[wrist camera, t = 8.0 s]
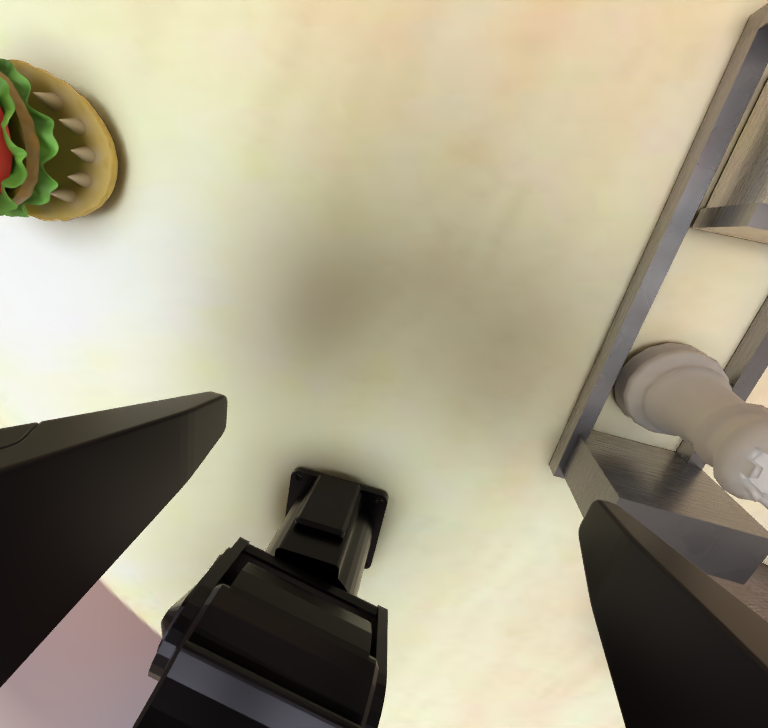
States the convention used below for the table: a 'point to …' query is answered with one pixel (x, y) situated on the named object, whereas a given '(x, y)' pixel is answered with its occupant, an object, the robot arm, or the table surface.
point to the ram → (743, 184)
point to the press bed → (756, 351)
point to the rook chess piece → (699, 414)
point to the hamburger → (50, 147)
